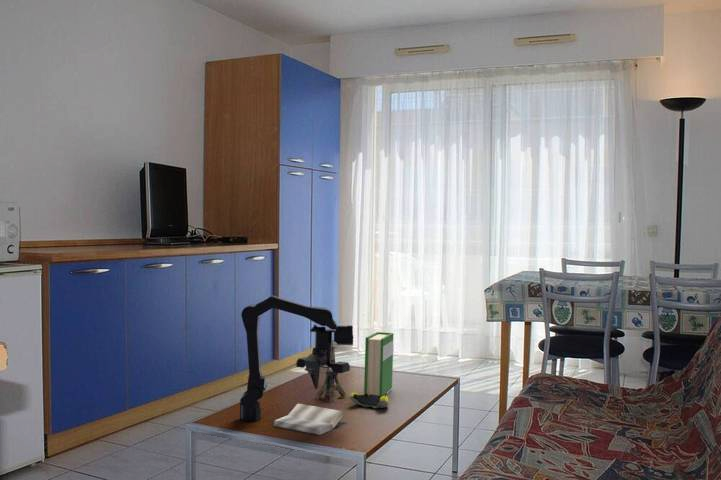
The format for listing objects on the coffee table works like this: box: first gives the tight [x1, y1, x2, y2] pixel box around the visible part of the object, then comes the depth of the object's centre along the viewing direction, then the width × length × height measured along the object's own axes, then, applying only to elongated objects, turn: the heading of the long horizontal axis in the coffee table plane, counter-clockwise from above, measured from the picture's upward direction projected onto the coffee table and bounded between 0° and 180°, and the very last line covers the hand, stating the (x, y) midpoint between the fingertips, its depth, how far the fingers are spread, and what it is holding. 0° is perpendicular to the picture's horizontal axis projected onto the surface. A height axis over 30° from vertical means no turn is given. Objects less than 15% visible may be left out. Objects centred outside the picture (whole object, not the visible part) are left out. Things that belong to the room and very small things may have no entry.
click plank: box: [287, 403, 344, 429], centre depth 223 cm, size 18×7×2 cm, turn 61°
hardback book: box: [363, 331, 395, 397], centre depth 271 cm, size 18×7×24 cm, turn 164°
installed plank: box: [273, 415, 333, 436], centre depth 217 cm, size 18×8×2 cm, turn 61°
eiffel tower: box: [312, 337, 349, 403], centre depth 261 cm, size 11×11×25 cm
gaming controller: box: [349, 392, 389, 409], centre depth 249 cm, size 15×6×10 cm
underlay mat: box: [274, 421, 347, 436], centre depth 221 cm, size 19×17×1 cm
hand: (322, 389), depth 227 cm, fingers open, 5 cm apart
